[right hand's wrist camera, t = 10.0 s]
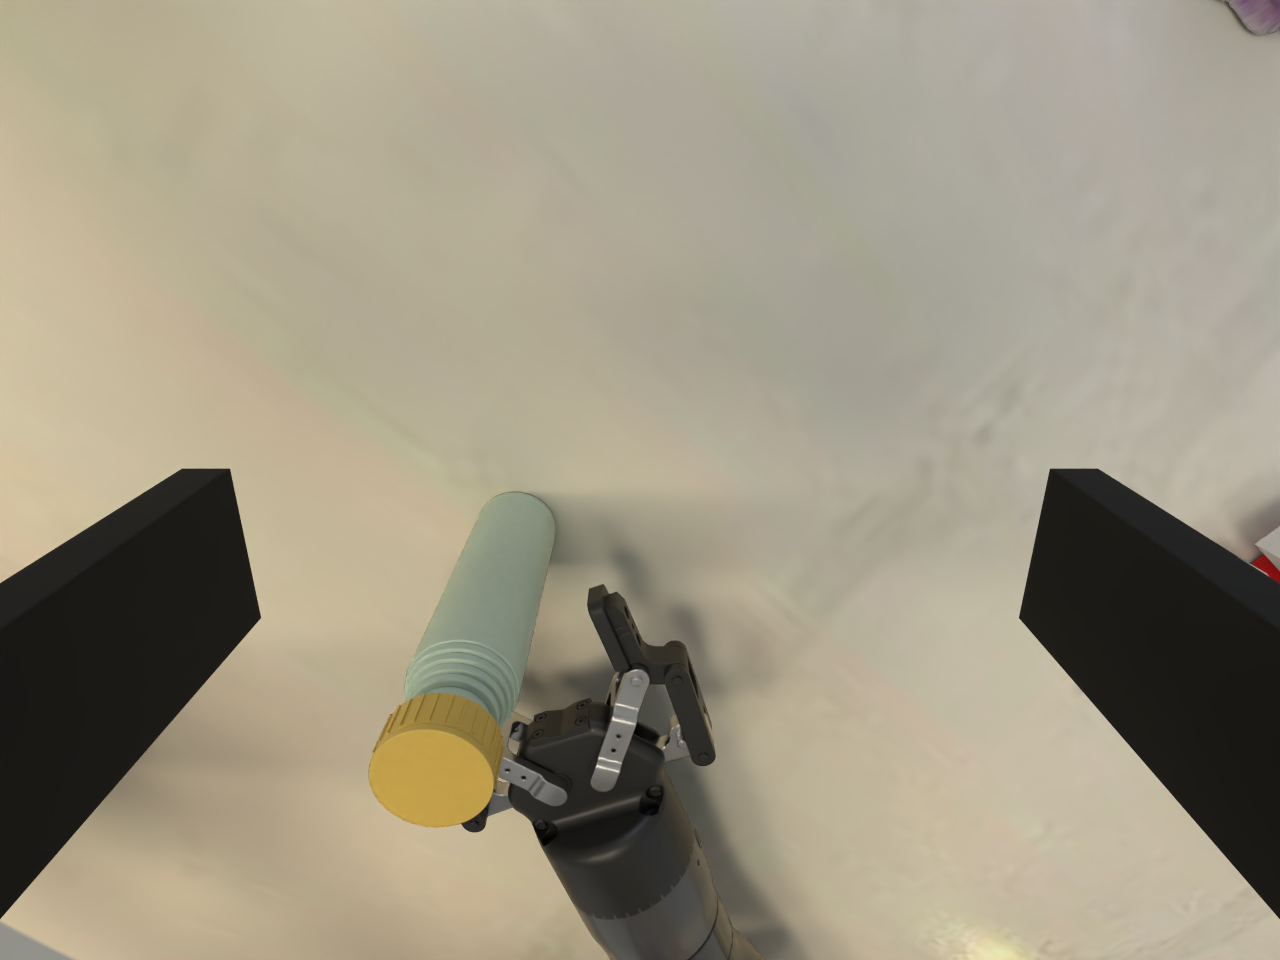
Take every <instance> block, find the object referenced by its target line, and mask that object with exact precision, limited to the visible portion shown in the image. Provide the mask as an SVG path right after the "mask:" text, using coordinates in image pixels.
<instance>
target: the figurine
mask: <svg viewBox="0 0 1280 960" xmlns="http://www.w3.org/2000/svg"><path fill="white" fill-rule="evenodd" d="M1222 1H1227V2H1229V4H1230V6H1231V8H1232V9H1234V10H1235V12H1236V13H1237V14H1238V17H1239V18H1240V19H1241V20H1242V22H1243V24H1244V25H1245V26H1246V27H1247V28H1248V29H1249V30H1250V31H1251V32H1253V33H1254V34H1257V35H1265V34H1266V33H1268V34H1269V33H1273V32H1276V31H1277V30H1279V29H1280V0H1222Z"/></svg>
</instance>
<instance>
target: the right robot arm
mask: <svg viewBox="0 0 1280 960" xmlns="http://www.w3.org/2000/svg"><path fill="white" fill-rule="evenodd" d="M260 618H261V615H260V611H259V606H258V601H257V596H256V591H255V587H254V582H253V577H252V572H251V567H250V563H249V558H248V553H247V548H246V543H245V539H244V534H243V529H242V524H241V519H240V515H239V510H238V505H237V500H236V496H235V491H234V486H233V481H232V476H231V472H230V469H181V470H179V471H178V472H176V473H174V474H173V475H171V476H170V477H168V478H167V479H165V480H163V481H162V482H160V483H159V484H157V485H155V486H154V487H152V488H151V489H149V490H148V491H146V492H144V493H143V494H141V495H140V496H138V497H136V498H135V499H133V500H132V501H130V502H128V503H127V504H125V505H124V506H122V507H121V508H119V509H117V510H116V511H114V512H113V513H111V514H109V515H108V516H106V517H105V518H103V519H101V520H100V521H98V522H97V523H95V524H94V525H92V526H90V527H89V528H87V529H86V530H84V531H82V532H81V533H79V534H78V535H76V536H74V537H73V538H71V539H70V540H68V541H67V542H65V543H63V544H62V545H60V546H59V547H57V548H55V549H54V550H52V551H51V552H49V553H48V554H46V555H44V556H43V557H41V558H40V559H38V560H36V561H35V562H33V563H32V564H30V565H28V566H27V567H25V568H24V569H22V570H21V571H19V572H17V573H16V574H14V575H13V576H11V577H9V578H8V579H6V580H5V581H3V582H1V583H0V919H1V918H2V916H3V915H4V914H5V913H6V912H7V911H8V909H9V908H10V907H11V906H12V905H13V904H14V902H15V901H16V900H17V899H18V898H19V897H20V896H21V894H22V893H23V892H24V891H25V890H26V889H27V887H28V886H29V885H30V884H31V883H32V882H33V881H34V879H35V878H36V877H37V876H38V875H39V874H40V872H41V871H42V870H43V869H44V868H45V867H46V866H47V864H48V863H49V862H50V861H51V860H52V859H53V857H54V856H55V855H56V854H57V853H58V852H59V851H60V849H61V848H62V847H63V846H64V845H65V844H66V842H67V841H68V840H69V839H70V838H71V837H72V836H73V834H74V833H75V832H76V831H77V830H78V829H79V827H80V826H81V825H82V824H83V823H84V822H85V821H86V819H87V818H88V817H89V816H90V815H91V814H92V812H93V811H94V810H95V809H96V808H97V807H98V806H99V804H100V803H101V802H102V801H103V800H104V799H105V797H106V796H107V795H108V794H109V793H110V792H111V790H112V789H113V788H114V787H115V786H116V785H117V784H118V782H119V781H120V780H121V779H122V778H123V777H124V775H125V774H126V773H127V772H128V771H129V770H130V769H131V767H132V766H133V765H134V764H135V763H136V762H137V760H138V759H139V758H140V757H141V756H142V755H143V754H144V752H145V751H146V750H147V749H148V748H149V747H150V745H151V744H152V743H153V742H154V741H155V740H156V739H157V737H158V736H159V735H160V734H161V733H162V732H163V730H164V729H165V728H166V727H167V726H168V725H169V724H170V722H171V721H172V720H173V719H174V718H175V717H176V715H177V714H178V713H179V712H180V711H181V710H182V709H183V707H184V706H185V705H186V704H187V703H188V702H189V700H190V699H191V698H192V697H193V696H194V695H195V693H196V692H197V691H198V690H199V689H200V688H201V687H202V685H203V684H204V683H205V682H206V681H207V680H208V678H209V677H210V676H211V675H212V674H213V673H214V672H215V670H216V669H217V668H218V667H219V666H220V665H221V663H222V662H223V661H224V660H225V659H226V658H227V657H228V655H229V654H230V653H231V652H232V651H233V650H234V648H235V647H236V646H237V645H238V644H239V643H240V642H241V640H242V639H243V638H244V637H245V636H246V635H247V633H248V632H249V631H250V630H251V629H252V628H253V627H254V625H255V624H256V623H257V622H258V621H259V620H260ZM1019 618H1020V620H1021V621H1022V622H1023V623H1024V624H1025V625H1026V627H1027V628H1028V629H1029V630H1030V631H1031V632H1032V633H1033V635H1034V636H1035V637H1036V638H1037V639H1038V640H1039V642H1040V643H1041V644H1042V645H1043V646H1044V647H1045V648H1046V650H1047V651H1048V652H1049V653H1050V654H1051V655H1052V657H1053V658H1054V659H1055V660H1056V661H1057V662H1058V663H1059V665H1060V666H1061V667H1062V668H1063V669H1064V670H1065V672H1066V673H1067V674H1068V675H1069V676H1070V677H1071V678H1072V680H1073V681H1074V682H1075V683H1076V684H1077V685H1078V687H1079V688H1080V689H1081V690H1082V691H1083V692H1084V693H1085V695H1086V696H1087V697H1088V698H1089V699H1090V700H1091V702H1092V703H1093V704H1094V705H1095V706H1096V707H1097V709H1098V710H1099V711H1100V712H1101V713H1102V714H1103V715H1104V717H1105V718H1106V719H1107V720H1108V721H1109V722H1110V724H1111V725H1112V726H1113V727H1114V728H1115V729H1116V730H1117V732H1118V733H1119V734H1120V735H1121V736H1122V737H1123V739H1124V740H1125V741H1126V742H1127V743H1128V744H1129V745H1130V747H1131V748H1132V749H1133V750H1134V751H1135V752H1136V754H1137V755H1138V756H1139V757H1140V758H1141V759H1142V760H1143V762H1144V763H1145V764H1146V765H1147V766H1148V767H1149V769H1150V770H1151V771H1152V772H1153V773H1154V774H1155V775H1156V777H1157V778H1158V779H1159V780H1160V781H1161V782H1162V784H1163V785H1164V786H1165V787H1166V788H1167V789H1168V790H1169V792H1170V793H1171V794H1172V795H1173V796H1174V797H1175V799H1176V800H1177V801H1178V802H1179V803H1180V804H1181V806H1182V807H1183V808H1184V809H1185V810H1186V811H1187V812H1188V814H1189V815H1190V816H1191V817H1192V818H1193V819H1194V821H1195V822H1196V823H1197V824H1198V825H1199V826H1200V827H1201V829H1202V830H1203V831H1204V832H1205V833H1206V834H1207V836H1208V837H1209V838H1210V839H1211V840H1212V841H1213V842H1214V844H1215V845H1216V846H1217V847H1218V848H1219V849H1220V851H1221V852H1222V853H1223V854H1224V855H1225V856H1226V857H1227V859H1228V860H1229V861H1230V862H1231V863H1232V864H1233V866H1234V867H1235V868H1236V869H1237V870H1238V871H1239V872H1240V874H1241V875H1242V876H1243V877H1244V878H1245V879H1246V881H1247V882H1248V883H1249V884H1250V885H1251V886H1252V887H1253V889H1254V890H1255V891H1256V892H1257V893H1258V894H1259V896H1260V897H1261V898H1262V899H1263V900H1264V901H1265V902H1266V904H1267V905H1268V906H1269V907H1270V908H1271V909H1272V911H1273V912H1274V913H1275V914H1276V915H1277V916H1278V918H1279V919H1280V583H1279V582H1277V581H1275V580H1274V579H1272V578H1271V577H1269V576H1267V575H1266V574H1264V573H1263V572H1261V571H1259V570H1258V569H1256V568H1255V567H1253V566H1252V565H1250V564H1248V563H1247V562H1245V561H1244V560H1242V559H1240V558H1239V557H1237V556H1236V555H1234V554H1232V553H1231V552H1229V551H1228V550H1226V549H1225V548H1223V547H1221V546H1220V545H1218V544H1217V543H1215V542H1213V541H1212V540H1210V539H1209V538H1207V537H1206V536H1204V535H1202V534H1201V533H1199V532H1198V531H1196V530H1194V529H1193V528H1191V527H1190V526H1188V525H1186V524H1185V523H1183V522H1182V521H1180V520H1179V519H1177V518H1175V517H1174V516H1172V515H1171V514H1169V513H1167V512H1166V511H1164V510H1163V509H1161V508H1159V507H1158V506H1156V505H1155V504H1153V503H1152V502H1150V501H1148V500H1147V499H1145V498H1144V497H1142V496H1140V495H1139V494H1137V493H1136V492H1134V491H1132V490H1131V489H1129V488H1128V487H1126V486H1125V485H1123V484H1121V483H1120V482H1118V481H1117V480H1115V479H1113V478H1112V477H1110V476H1109V475H1107V474H1105V473H1104V472H1102V471H1101V470H1099V469H1050V472H1049V476H1048V481H1047V486H1046V491H1045V496H1044V500H1043V505H1042V510H1041V515H1040V519H1039V524H1038V529H1037V534H1036V539H1035V543H1034V548H1033V553H1032V558H1031V563H1030V567H1029V572H1028V577H1027V582H1026V587H1025V591H1024V596H1023V601H1022V606H1021V611H1020V615H1019Z"/></svg>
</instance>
